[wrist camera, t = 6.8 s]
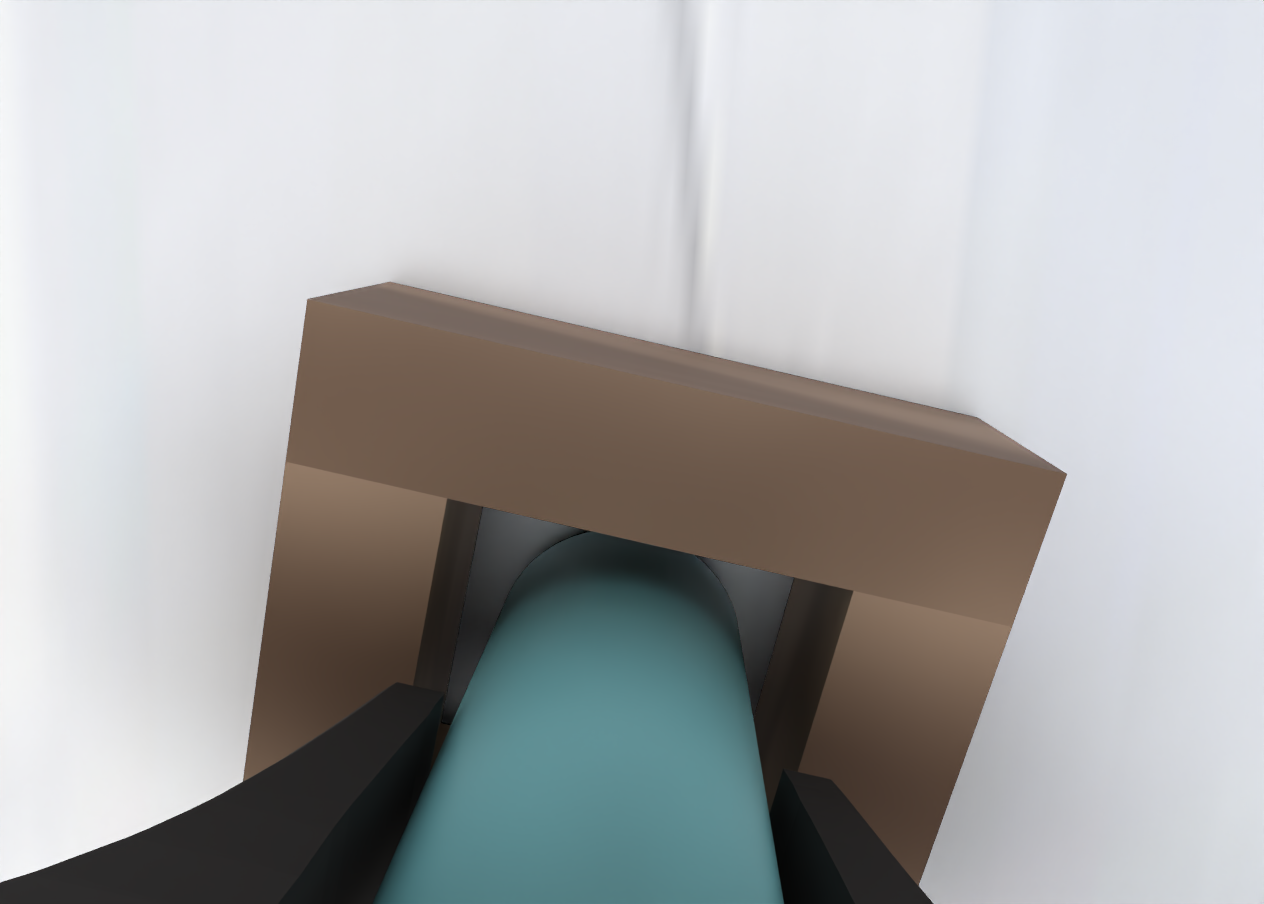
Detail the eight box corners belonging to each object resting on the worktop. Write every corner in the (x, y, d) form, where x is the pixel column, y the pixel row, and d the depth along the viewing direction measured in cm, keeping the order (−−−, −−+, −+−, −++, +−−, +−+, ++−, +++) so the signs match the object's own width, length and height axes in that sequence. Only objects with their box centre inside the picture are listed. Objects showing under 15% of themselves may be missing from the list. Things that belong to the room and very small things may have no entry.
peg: (699, 776, 16) (746, 1674, 6) (475, 715, 16) (149, 1531, 6) (770, 566, 15) (964, 1234, 5) (530, 500, 15) (251, 1048, 5)
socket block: (815, 910, 18) (850, 1074, 14) (309, 797, 17) (222, 936, 14) (978, 417, 15) (1067, 473, 12) (389, 282, 15) (307, 299, 12)
